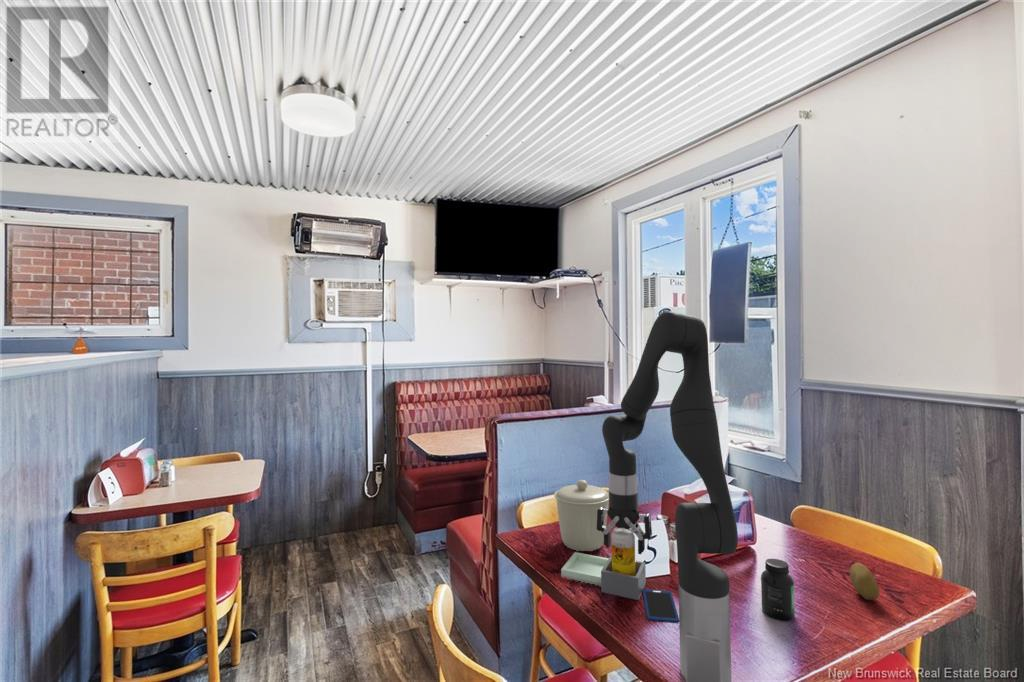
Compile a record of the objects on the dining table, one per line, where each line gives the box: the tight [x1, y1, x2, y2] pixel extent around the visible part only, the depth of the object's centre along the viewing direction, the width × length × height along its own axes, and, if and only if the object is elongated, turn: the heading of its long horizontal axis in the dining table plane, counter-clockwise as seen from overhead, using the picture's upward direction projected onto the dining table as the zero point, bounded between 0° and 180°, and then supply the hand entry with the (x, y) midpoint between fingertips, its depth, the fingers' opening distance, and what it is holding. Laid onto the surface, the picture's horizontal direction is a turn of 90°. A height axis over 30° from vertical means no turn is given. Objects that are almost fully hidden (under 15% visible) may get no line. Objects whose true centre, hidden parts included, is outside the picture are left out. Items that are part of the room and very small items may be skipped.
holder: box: [600, 555, 647, 601], centre depth 126 cm, size 10×10×6 cm
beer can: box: [611, 527, 636, 576], centre depth 126 cm, size 6×6×15 cm
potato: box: [849, 562, 881, 601], centre depth 119 cm, size 7×8×8 cm
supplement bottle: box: [760, 558, 796, 622], centre depth 112 cm, size 7×7×12 cm
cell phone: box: [642, 588, 679, 624], centre depth 117 cm, size 7×14×1 cm, turn 169°
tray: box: [560, 551, 610, 587], centre depth 134 cm, size 12×12×2 cm
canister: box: [553, 479, 609, 552], centre depth 152 cm, size 18×18×21 cm
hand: (624, 550), depth 126 cm, fingers open, 8 cm apart
